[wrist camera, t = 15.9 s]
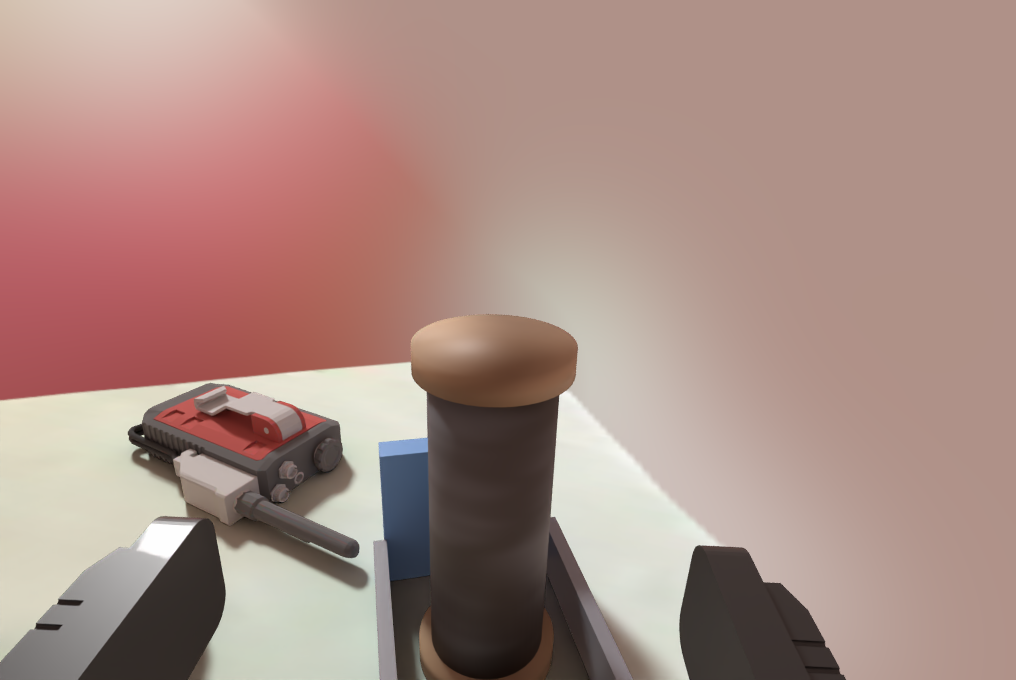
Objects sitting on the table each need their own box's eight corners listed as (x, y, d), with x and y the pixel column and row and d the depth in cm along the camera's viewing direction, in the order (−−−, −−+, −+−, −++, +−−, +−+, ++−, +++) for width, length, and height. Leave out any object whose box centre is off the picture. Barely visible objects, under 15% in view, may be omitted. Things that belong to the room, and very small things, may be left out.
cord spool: (427, 723, 22) (419, 383, 17) (413, 607, 27) (404, 318, 22) (570, 694, 23) (603, 370, 18) (531, 588, 28) (549, 311, 23)
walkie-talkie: (97, 468, 37) (343, 589, 29) (80, 405, 35) (336, 513, 27) (219, 410, 44) (444, 493, 36) (210, 355, 43) (443, 429, 34)
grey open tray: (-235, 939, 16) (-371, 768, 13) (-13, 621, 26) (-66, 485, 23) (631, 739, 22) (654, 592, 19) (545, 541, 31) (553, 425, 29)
